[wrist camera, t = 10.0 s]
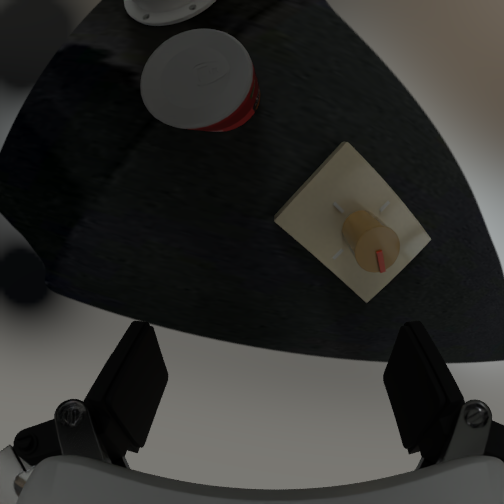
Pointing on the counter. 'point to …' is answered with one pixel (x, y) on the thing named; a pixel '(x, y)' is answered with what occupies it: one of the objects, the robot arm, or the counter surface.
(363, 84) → the counter surface
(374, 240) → the tap handle
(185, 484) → the robot arm
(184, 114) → the canned food
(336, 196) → the plate
